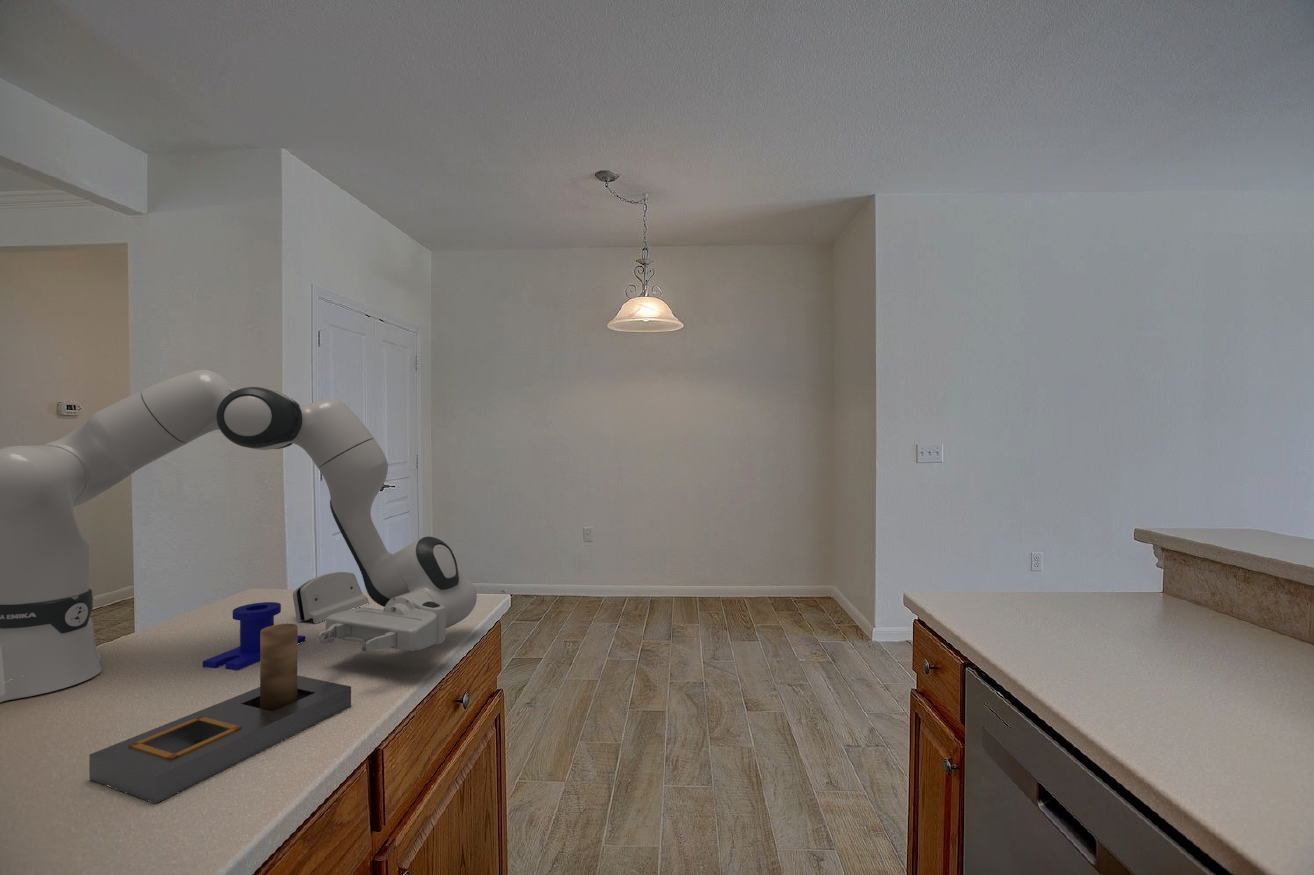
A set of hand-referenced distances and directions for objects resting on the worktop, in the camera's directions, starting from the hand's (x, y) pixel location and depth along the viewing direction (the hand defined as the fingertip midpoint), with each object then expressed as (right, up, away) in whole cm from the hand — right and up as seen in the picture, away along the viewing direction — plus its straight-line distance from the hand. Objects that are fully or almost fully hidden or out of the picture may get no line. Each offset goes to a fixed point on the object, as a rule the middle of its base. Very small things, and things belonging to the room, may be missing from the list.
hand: (342, 642), depth 95 cm
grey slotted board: (-6, -7, -16) cm, 18 cm away
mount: (-24, -8, +16) cm, 30 cm away
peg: (-4, -7, -10) cm, 13 cm away
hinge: (-25, -8, +42) cm, 49 cm away
